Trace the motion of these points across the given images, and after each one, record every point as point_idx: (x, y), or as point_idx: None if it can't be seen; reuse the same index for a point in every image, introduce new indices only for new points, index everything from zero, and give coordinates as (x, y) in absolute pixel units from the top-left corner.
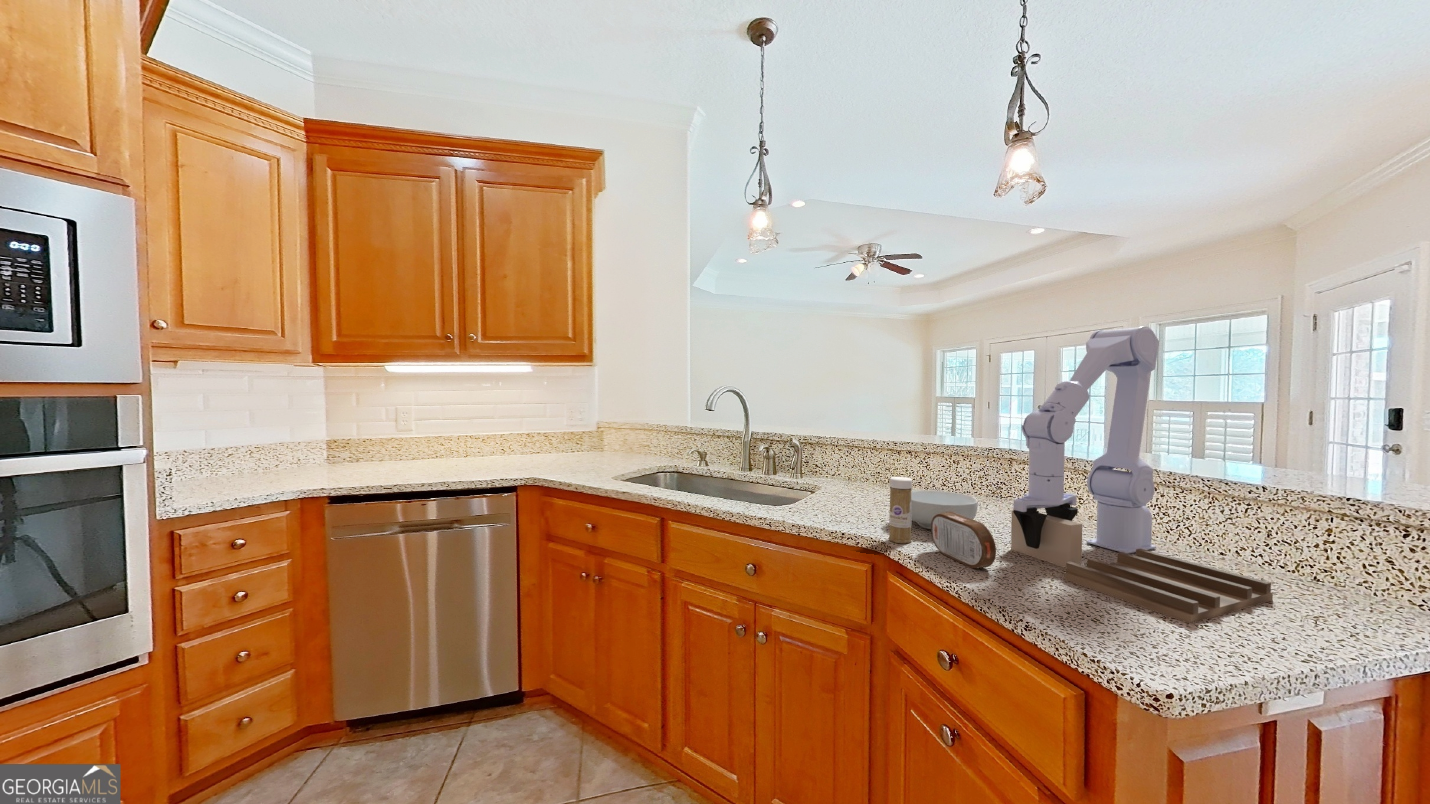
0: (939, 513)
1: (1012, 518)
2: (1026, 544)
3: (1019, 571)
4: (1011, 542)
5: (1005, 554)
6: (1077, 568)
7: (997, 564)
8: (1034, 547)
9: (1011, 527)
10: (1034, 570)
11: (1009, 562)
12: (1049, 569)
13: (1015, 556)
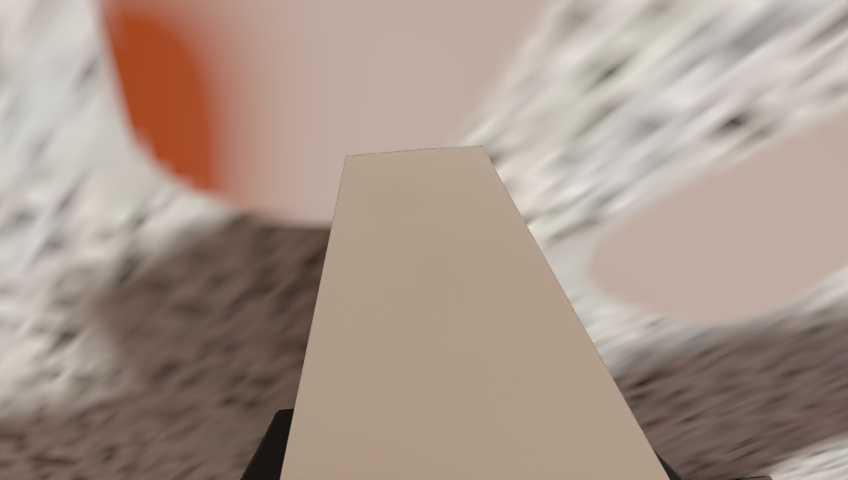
0: None
1: (298, 407)
2: (273, 421)
3: (95, 458)
4: (342, 185)
5: (202, 240)
6: None
7: (10, 370)
8: None
9: (321, 277)
10: (193, 460)
11: (122, 361)
12: None
13: (251, 290)
